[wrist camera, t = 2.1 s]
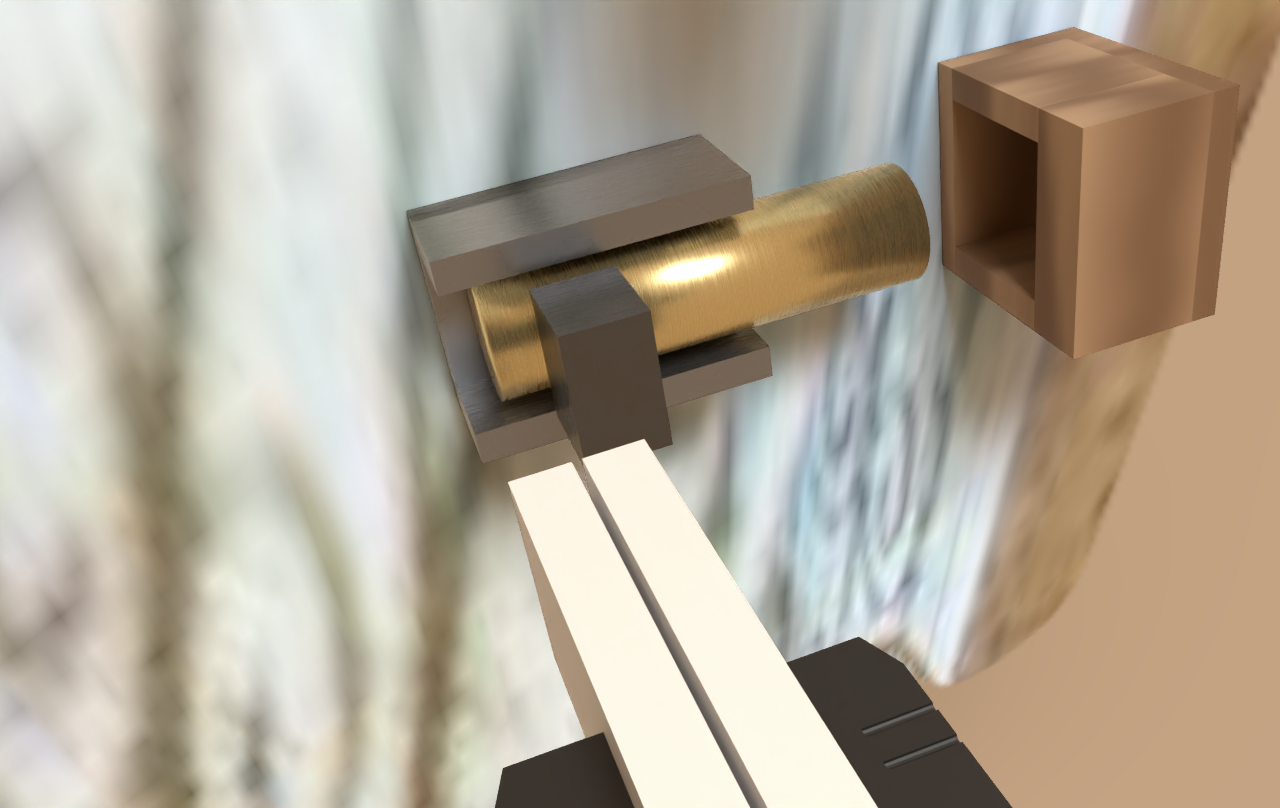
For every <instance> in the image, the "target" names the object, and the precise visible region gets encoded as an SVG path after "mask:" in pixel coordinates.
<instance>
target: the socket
mask: <svg viewBox="0 0 1280 808" xmlns="http://www.w3.org/2000/svg"><path fill="white" fill-rule="evenodd" d="M938 65H939V109H940V154H941V198H942V243H943V265H944V266H945V267H947V268H948V269H949V270H951V271H952V272H954V273H955V274H956V275H958V276H959V277H960V278H962V279H963V280H965V281H966V282H967V283H969V284H970V285H972V286H973V287H974V288H976V289H977V290H978V291H980V292H981V293H983V294H984V295H985V296H987V297H988V298H989V299H991V300H992V301H994V302H995V303H996V304H998V305H999V306H1001V307H1002V308H1003V309H1005V310H1006V311H1007V312H1009V313H1010V314H1012V315H1013V316H1014V317H1016V318H1017V319H1019V320H1020V321H1021V322H1023V323H1024V324H1025V325H1027V326H1028V327H1030V328H1031V329H1032V330H1034V331H1035V332H1037V333H1038V334H1039V335H1041V336H1042V337H1043V338H1045V339H1046V340H1048V341H1049V342H1050V343H1052V344H1053V345H1055V346H1056V347H1057V348H1059V349H1060V350H1061V351H1063V352H1064V353H1066V354H1067V355H1068V356H1070V357H1071V358H1073V359H1076V358H1079V357H1082V356H1085V355H1088V354H1091V353H1095V352H1098V351H1101V350H1104V349H1107V348H1110V347H1113V346H1117V345H1120V344H1123V343H1126V342H1129V341H1132V340H1136V339H1139V338H1142V337H1145V336H1148V335H1151V334H1154V333H1158V332H1161V331H1164V330H1167V329H1170V328H1173V327H1176V326H1180V325H1183V324H1186V323H1189V322H1192V321H1195V320H1198V319H1201V318H1205V317H1208V316H1211V315H1214V314H1215V305H1216V297H1217V288H1218V279H1219V269H1220V260H1221V251H1222V242H1223V232H1224V223H1225V215H1226V206H1227V197H1228V187H1229V178H1230V169H1231V160H1232V151H1233V142H1234V133H1235V124H1236V115H1237V105H1238V96H1239V87H1240V85H1239V84H1236V83H1233V82H1230V81H1227V80H1225V79H1222V78H1219V77H1216V76H1213V75H1210V74H1207V73H1204V72H1201V71H1199V70H1196V69H1193V68H1190V67H1187V66H1184V65H1181V64H1178V63H1175V62H1173V61H1170V60H1167V59H1164V58H1161V57H1158V56H1155V55H1152V54H1149V53H1147V52H1144V51H1141V50H1138V49H1135V48H1132V47H1129V46H1126V45H1123V44H1121V43H1118V42H1115V41H1112V40H1109V39H1106V38H1103V37H1100V36H1097V35H1095V34H1092V33H1089V32H1086V31H1083V30H1080V29H1077V28H1074V27H1073V28H1069V29H1065V30H1061V31H1057V32H1053V33H1049V34H1046V35H1042V36H1038V37H1034V38H1030V39H1026V40H1023V41H1019V42H1015V43H1011V44H1007V45H1003V46H999V47H996V48H992V49H988V50H984V51H980V52H976V53H972V54H969V55H965V56H961V57H957V58H953V59H949V60H946V61H942V62H938Z"/></svg>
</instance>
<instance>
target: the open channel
mask: <svg viewBox="0 0 1280 808" xmlns="http://www.w3.org/2000/svg"><path fill="white" fill-rule="evenodd" d="M750 210H754V203H753V194H752V185H751V176H750V175H749V174H748V173H747V172H746V171H744V170H743V169H742V168H741V167H739V166H738V165H737V164H736V163H734V162H733V161H732V160H731V159H729V158H728V157H727V156H726V155H725V154H723V153H722V152H721V151H720V150H718V149H717V148H716V147H715V146H713V145H712V144H711V143H710V142H709V141H707V140H706V139H705V138H704V137H702V136H701V135H700V134H699V135H695V136H691V137H687V138H684V139H680V140H676V141H672V142H668V143H664V144H661V145H657V146H653V147H649V148H645V149H642V150H638V151H634V152H630V153H626V154H622V155H619V156H615V157H611V158H607V159H603V160H599V161H596V162H592V163H588V164H584V165H580V166H576V167H573V168H569V169H565V170H561V171H557V172H554V173H550V174H546V175H542V176H538V177H534V178H531V179H527V180H523V181H519V182H515V183H511V184H508V185H504V186H500V187H496V188H492V189H489V190H485V191H481V192H477V193H473V194H469V195H466V196H462V197H458V198H454V199H450V200H446V201H443V202H439V203H435V204H431V205H427V206H423V207H420V208H416V209H412V210H408V211H407V215H408V219H409V222H410V226H411V230H412V234H413V237H414V241H415V245H416V248H417V252H418V256H419V259H420V263H421V267H422V270H423V274H424V278H425V281H426V285H427V289H428V292H429V296H430V300H431V304H432V307H433V311H434V315H435V318H436V322H437V326H438V329H439V333H440V337H441V340H442V344H443V348H444V351H445V355H446V359H447V362H448V366H449V370H450V374H451V377H452V381H453V385H454V388H455V392H456V396H457V399H458V402H459V404H460V407H461V409H462V412H463V415H464V417H465V420H466V422H467V425H468V427H469V430H470V432H471V435H472V437H473V440H474V443H475V445H476V448H477V450H478V453H479V455H480V458H481V460H482V463H483V464H484V463H487V462H490V461H494V460H497V459H500V458H503V457H507V456H510V455H513V454H517V453H520V452H523V451H526V450H530V449H533V448H536V447H540V446H543V445H546V444H549V443H553V442H556V441H559V440H563V439H566V438H568V436H567V434H566V432H565V430H564V428H563V426H562V424H561V422H560V421H559V419H558V417H557V413H556V408H555V404H554V399H553V395H552V390H551V387H550V388H547V389H543V390H540V391H537V392H533V393H530V394H527V395H523V396H520V397H516V398H513V399H510V400H506V401H503V402H502V401H501V399H500V398H499V396H498V394H497V391H496V389H495V386H494V384H493V381H492V378H491V376H490V373H489V370H488V367H487V364H486V361H485V358H484V355H483V351H482V348H481V345H480V342H479V338H478V335H477V331H476V327H475V324H474V320H473V316H472V312H471V308H470V304H469V299H468V295H467V289H468V288H472V287H475V286H479V285H482V284H486V283H490V282H493V281H497V280H500V279H504V278H508V277H511V276H515V275H519V274H522V273H526V272H529V271H533V270H537V269H540V268H544V267H548V266H551V265H555V264H558V263H562V262H566V261H569V260H573V259H576V258H580V257H584V256H587V255H591V254H595V253H598V252H602V251H605V250H609V249H613V248H616V247H620V246H624V245H627V244H631V243H634V242H638V241H642V240H645V239H649V238H653V237H656V236H660V235H663V234H667V233H671V232H674V231H678V230H681V229H685V228H689V227H692V226H696V225H700V224H703V223H707V222H710V221H714V220H718V219H721V218H725V217H729V216H732V215H736V214H739V213H743V212H747V211H750ZM658 358H659V364H660V371H661V377H662V383H663V389H664V395H665V401H666V407H667V408H668V407H671V406H674V405H677V404H681V403H684V402H687V401H691V400H694V399H697V398H700V397H704V396H707V395H710V394H714V393H717V392H720V391H723V390H727V389H730V388H733V387H736V386H740V385H743V384H746V383H750V382H753V381H756V380H759V379H763V378H766V377H769V376H772V367H771V358H770V349H769V346H768V345H767V344H766V343H765V342H764V341H763V339H762V338H761V337H760V336H759V335H758V334H757V333H756V332H755V331H754V330H753V329H752V328H750V329H746V330H743V331H740V332H736V333H733V334H729V335H726V336H723V337H719V338H716V339H713V340H709V341H706V342H702V343H699V344H696V345H692V346H689V347H686V348H682V349H679V350H675V351H672V352H669V353H665V354H662V355H658Z"/></svg>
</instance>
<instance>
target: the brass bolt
mask: <svg viewBox="0 0 1280 808" xmlns="http://www.w3.org/2000/svg"><path fill="white" fill-rule="evenodd" d="M753 203H754V210H750V211H747V212H743V213H739V214H736V215H732V216H729V217H725V218H721V219H718V220H714V221H710V222H707V223H703V224H700V225H696V226H692V227H689V228H685V229H681V230H678V231H674V232H671V233H667V234H663V235H660V236H656V237H653V238H649V239H645V240H642V241H638V242H634V243H631V244H627V245H624V246H620V247H616V248H613V249H609V250H605V251H602V252H598V253H595V254H591V255H587V256H584V257H580V258H576V259H573V260H569V261H566V262H562V263H558V264H555V265H551V266H548V267H544V268H540V269H537V270H533V271H529V272H526V273H522V274H519V275H515V276H511V277H508V278H504V279H500V280H497V281H493V282H490V283H486V284H482V285H479V286H475V287H472V288H468V289H467V295H468V299H469V304H470V308H471V312H472V316H473V320H474V324H475V327H476V331H477V335H478V338H479V342H480V345H481V348H482V351H483V355H484V358H485V361H486V364H487V367H488V370H489V373H490V376H491V378H492V381H493V384H494V386H495V389H496V391H497V394H498V396H499V398H500V399H501V401H502V402H503V401H506V400H510V399H513V398H516V397H520V396H523V395H527V394H530V393H533V392H537V391H540V390H543V389H547V388H550V387H551V390H552V395H553V399H554V404H555V408H556V413H557V417H558V419H559V421H560V422H561V424H562V426H563V428H564V430H565V432H566V434H567V436H568V438H569V439H570V441H571V443H572V445H573V447H574V449H575V451H576V453H577V455H578V457H579V458H580V460H581V462H582V464H583V461H582V458H586V457H589V456H592V455H595V454H598V453H601V452H605V451H608V450H611V449H614V448H617V447H620V446H624V445H627V444H630V443H633V442H636V441H639V440H643V439H645V441H646V442H647V444H648V446H649V447H650V449H651V450H652V451H653V450H656V449H659V448H662V447H665V446H669V445H672V444H673V443H672V437H671V431H670V425H669V419H668V413H667V407H666V401H665V395H664V389H663V383H662V377H661V371H660V364H659V358H658V355H662V354H665V353H669V352H672V351H675V350H679V349H682V348H686V347H689V346H692V345H696V344H699V343H702V342H706V341H709V340H713V339H716V338H719V337H723V336H726V335H729V334H733V333H736V332H740V331H743V330H746V329H750V328H753V327H757V326H760V325H763V324H767V323H770V322H773V321H777V320H780V319H784V318H787V317H790V316H794V315H797V314H801V313H804V312H807V311H811V310H814V309H817V308H821V307H824V306H828V305H831V304H834V303H838V302H841V301H844V300H848V299H851V298H855V297H858V296H861V295H865V294H868V293H872V292H875V291H878V290H882V289H885V288H888V287H892V286H895V285H899V284H902V283H905V282H909V281H912V280H915V279H918V278H920V277H921V276H922V275H923V274H924V272H925V270H926V268H927V265H928V262H929V256H930V235H929V227H928V222H927V217H926V213H925V210H924V207H923V203H922V201H921V198H920V196H919V194H918V191H917V189H916V187H915V186H914V184H913V182H912V181H911V179H910V178H909V176H908V175H907V174H906V172H905V171H904V170H903V169H902V168H900V167H899V166H898V165H896V164H893V163H885V164H881V165H877V166H874V167H870V168H867V169H863V170H859V171H856V172H852V173H848V174H845V175H841V176H837V177H834V178H830V179H826V180H823V181H819V182H816V183H812V184H808V185H805V186H801V187H797V188H794V189H790V190H786V191H783V192H779V193H775V194H772V195H768V196H765V197H761V198H757V199H754V200H753Z"/></svg>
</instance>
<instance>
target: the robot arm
mask: <svg viewBox="0 0 1280 808" xmlns="http://www.w3.org/2000/svg"><path fill="white" fill-rule="evenodd" d="M582 461H583V466H584V470H585V475H586V479H587V484H588V488H589V493H590V496H589V494H588V493H587V491H586V489H585V487H584V485H583V483H582V481H581V479H580V477H579V475H578V473H577V471H576V469H575V467H574V465H573V463H572V462H570V463H567V464H563V465H560V466H557V467H554V468H551V469H548V470H544V471H541V472H538V473H535V474H532V475H529V476H525V477H522V478H519V479H516V480H513V481H510V482H508V485H509V488H510V492H511V496H512V500H513V503H514V507H515V511H516V515H517V518H518V522H519V526H520V530H521V533H522V537H523V541H524V545H525V548H526V552H527V556H528V560H529V563H530V567H531V571H532V575H533V578H534V582H535V586H536V590H537V593H538V597H539V601H540V605H541V609H542V612H543V616H544V620H545V624H546V627H547V631H548V635H549V639H550V642H551V646H552V650H553V654H554V657H555V660H556V663H557V665H558V668H559V670H560V673H561V676H562V678H563V681H564V683H565V686H566V688H567V691H568V694H569V696H570V699H571V701H572V704H573V706H574V709H575V712H576V714H577V717H578V719H579V722H580V724H581V727H582V729H583V732H584V735H585V737H586V738H585V739H583V740H580V741H577V742H574V743H571V744H569V745H566V746H563V747H560V748H558V749H555V750H552V751H549V752H546V753H544V754H541V755H538V756H535V757H533V758H530V759H527V760H524V761H522V762H519V763H516V764H513V765H510V766H508V767H505V768H503V770H502V775H501V780H500V785H499V790H498V795H497V800H496V805H495V808H1012V807H1011V805H1010V804H1009V803H1008V801H1007V800H1006V799H1005V797H1004V796H1003V795H1002V793H1001V792H1000V791H999V789H998V788H997V787H996V785H995V784H994V783H993V781H992V780H991V779H990V777H989V776H988V775H987V774H986V772H985V771H984V770H983V768H982V767H981V766H980V764H979V763H978V762H977V760H976V759H975V758H974V756H973V755H972V754H971V752H970V751H969V750H968V749H967V747H966V746H965V745H964V744H963V742H961V743H960V742H959V740H958V738H957V734H956V733H955V731H954V730H953V729H952V727H951V726H950V725H949V723H948V722H947V721H946V719H945V718H944V717H943V716H942V714H941V713H940V712H939V710H935V708H934V706H933V703H932V701H931V700H930V698H929V697H928V696H927V694H926V693H925V692H924V690H923V689H922V688H921V686H920V685H919V684H918V682H917V681H916V680H915V678H914V677H913V676H912V674H911V673H910V672H909V671H908V669H907V668H906V667H905V665H904V664H903V663H902V662H900V661H898V660H897V659H895V658H893V657H892V656H890V655H888V654H887V653H885V652H883V651H882V650H880V649H878V648H877V647H875V646H873V645H872V644H870V643H868V642H867V641H865V640H863V639H862V638H860V637H857V638H854V639H851V640H848V641H846V642H843V643H840V644H837V645H834V646H832V647H829V648H826V649H823V650H821V651H818V652H815V653H812V654H809V655H807V656H804V657H801V658H798V659H796V660H793V661H790V662H787V663H786V662H785V660H784V659H783V657H782V656H781V654H780V652H779V651H778V649H777V648H776V646H775V644H774V643H773V641H772V640H771V638H770V637H769V635H768V633H767V632H766V630H765V629H764V627H763V626H762V624H761V622H760V621H759V619H758V618H757V616H756V614H755V613H754V611H753V610H752V608H751V607H750V605H749V603H748V602H747V600H746V599H745V597H744V596H743V594H742V592H741V591H740V589H739V588H738V586H737V584H736V583H735V581H734V580H733V578H732V577H731V575H730V573H729V572H728V570H727V569H726V567H725V566H724V564H723V562H722V561H721V559H720V558H719V556H718V554H717V553H716V551H715V550H714V548H713V547H712V545H711V543H710V542H709V540H708V539H707V537H706V536H705V534H704V532H703V531H702V529H701V528H700V526H699V524H698V523H697V521H696V520H695V518H694V517H693V515H692V513H691V512H690V510H689V509H688V507H687V506H686V504H685V502H684V501H683V499H682V498H681V496H680V494H679V493H678V491H677V490H676V488H675V487H674V485H673V483H672V482H671V480H670V479H669V477H668V476H667V474H666V472H665V471H664V469H663V468H662V466H661V464H660V463H659V461H658V460H657V458H656V457H655V455H654V453H653V452H652V450H651V449H650V447H649V446H648V444H647V442H646V441H645V439H643V440H639V441H636V442H633V443H630V444H627V445H624V446H620V447H617V448H614V449H611V450H608V451H605V452H601V453H598V454H595V455H592V456H589V457H586V458H582ZM590 497H591V498H590Z"/></svg>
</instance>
